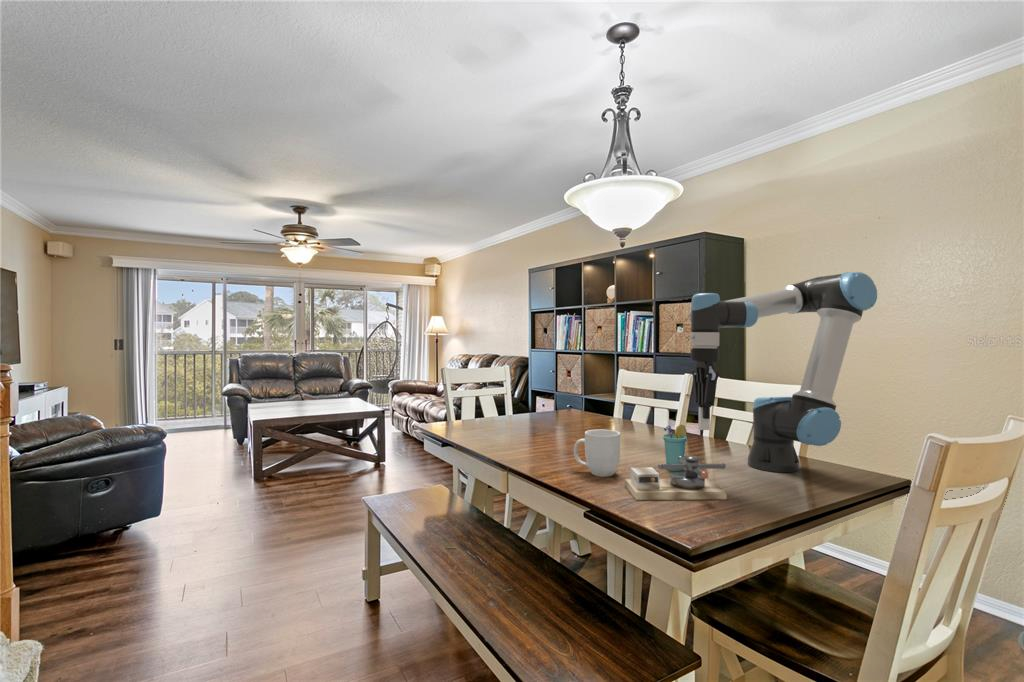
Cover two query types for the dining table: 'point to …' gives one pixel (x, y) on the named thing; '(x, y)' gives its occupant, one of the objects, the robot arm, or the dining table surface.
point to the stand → (667, 487)
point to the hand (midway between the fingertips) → (704, 429)
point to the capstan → (690, 472)
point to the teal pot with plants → (675, 445)
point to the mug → (600, 451)
